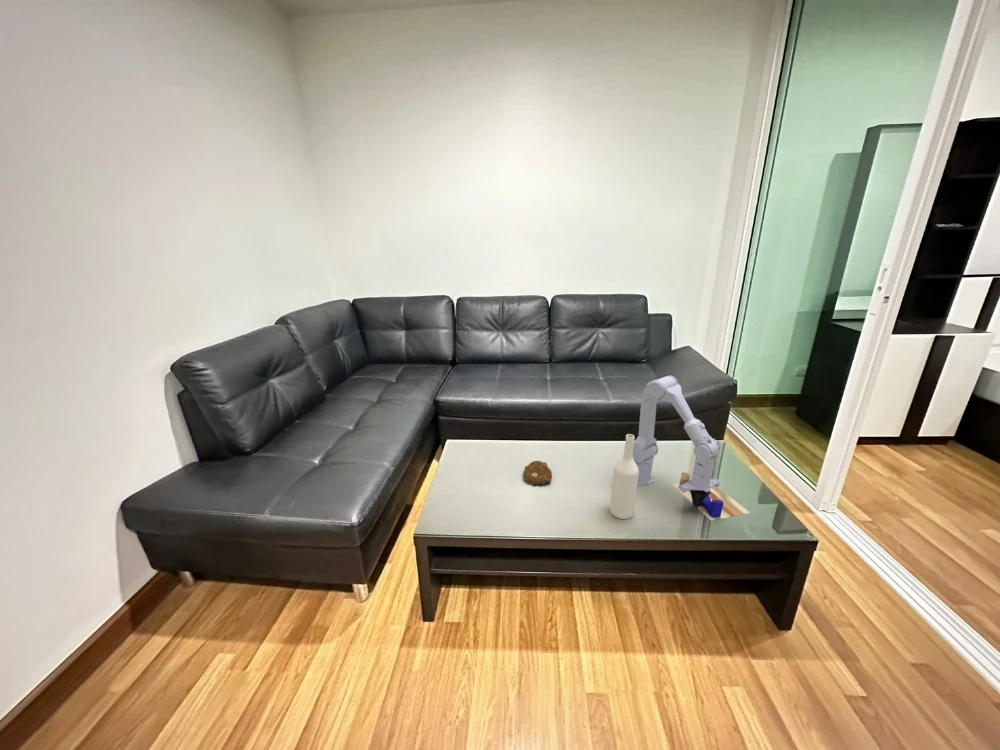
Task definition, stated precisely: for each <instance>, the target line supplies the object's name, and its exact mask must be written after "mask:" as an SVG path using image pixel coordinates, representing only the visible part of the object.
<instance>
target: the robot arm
mask: <svg viewBox="0 0 1000 750" xmlns="http://www.w3.org/2000/svg"><path fill="white" fill-rule="evenodd" d="M640 398H641V399H640V413H639V426H638V436H637V438H636V439H634V446H633V455H632V457H633V460H634V461H635V463H636V465H637V467H638V469H639V475H638V482H637V486H639V485H640V486H641V485H647V484H653V483H655V482H656V480H655V479H654V478H653V477H652V470H653V464H654V458H655V456H656V455H658V453H659V447H658V443H657V442H658V440H657V438H655V437H654V436H655V426H656V425H655V424H656V417H657V416H656V414H657V402H658V399H661V401H663V402H666V403H670V404H672V406H673V407H674V409H675V410H676V412H677V413H678V415H679V416H680V418H681V419H682V420H683V422H684V425H683V429H684V430H685V432H686V433H687V436H688V437H689V438H690V440H691V442H692V444H693V446H694V447H693V453H694V455H695V459H694V465H693V471H692V476H691V479H689V481H688V482H686V483H685V484H682V485H680V490H681V491H682V492H683V493H685V492H686V491H689V490H690V493H691V496H692V503H693V504H692V503H691V504H692V505H693V506H694V507H695V508H697V507H700V505H701V503H702V502H703V500H704V499H705V498H706V497H707V496H708V495H709V494H710V490H711V489H710V488H712V487H713V486H716V487H718V488H719V487H720V483H721V482H720V480H719V479H717V478H712V474H713V472H714V465H715V460H716V455H718V454H719V453H720V451H721V446H720V443H719V441H717V440H716V439H715V438H712V436H711V435H709V433H708V431H707V429H706V428H705V427H706V426H705V424H704V423H703V422H702V421H701V420H700V419H697V418H696V417H694V414H693V412H692V410H691V408H690V406H689V404H688V403H687V401H686V399H685V396H684V395H683V393H682V385H680V384H679V382H678V380H677V378H676V377H675V376H672V375H666V376H664V377H661V378H657V379H653V380H652V381H649V382H648V383H646V386H645V388H644V390H643V391H642V392H641V397H640Z"/></svg>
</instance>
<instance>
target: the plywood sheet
mask: <svg viewBox="0 0 1000 750" xmlns="http://www.w3.org/2000/svg"><path fill="white" fill-rule="evenodd" d="M679 485H680V482H679V483H673V484H671V486H672V487H673V488H675V489H676V490H677V491H678V492H679V493H680V494H681V495H682V496H683V497H685V499H687V500H688V502H689V503H691V504H692V505H693V503H692V496H691V493H690V490H689V491H686V492H685V493H683V492H682V491H681V490H680V488H679ZM710 489H711V490H710V494H709V497H710V500H711V501H712V500H722V502H723V507H722V512H721V516H720V517H711V516H710V515H709V513H708V512H707V511H706V509H705V508H704V506H700V507H696V508H697V509H698V510H699V511H700V512H701V513H703V515H705V516H706V518H707V519H709V520H710V521H716V520H722V519H727V518H731V517H737V516H742V515H746V514H750V513H751V512H750V511H748V509H746V508H745V507H743V506H742V505H741V504H739V503H738V501H736V500H734V499H733V498H732V497H731V496H729V495H728V494H727V493H726V492H725V491H723V490H722V489H720V488H719V487H716V486H713V487H712V488H710Z"/></svg>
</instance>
